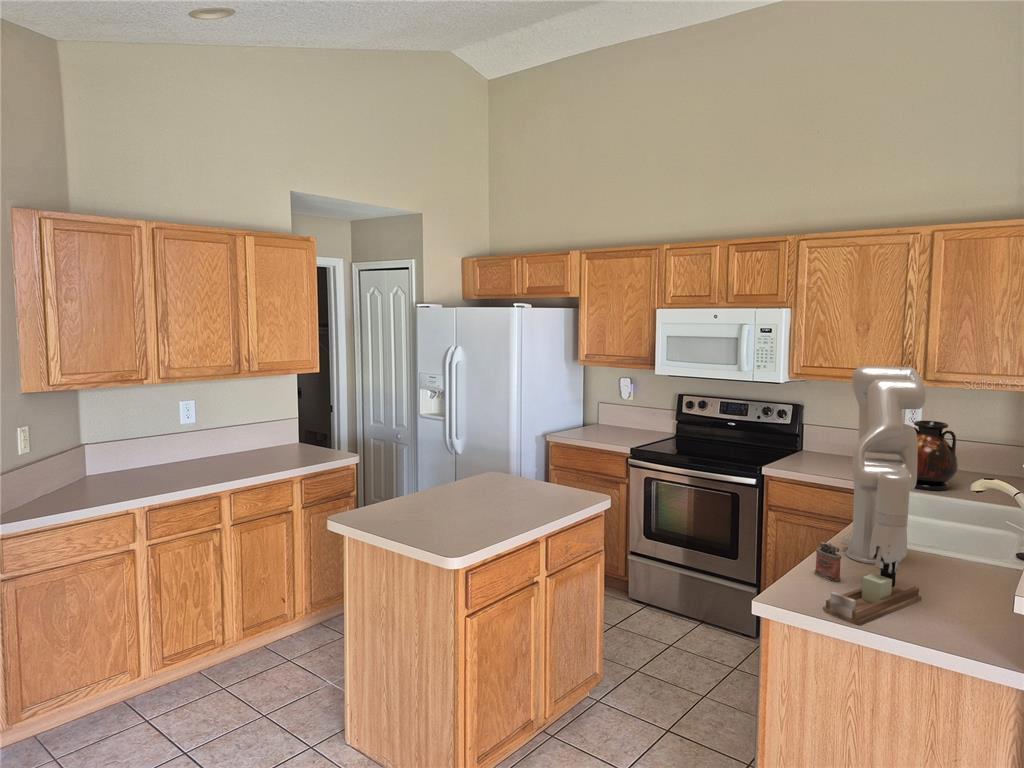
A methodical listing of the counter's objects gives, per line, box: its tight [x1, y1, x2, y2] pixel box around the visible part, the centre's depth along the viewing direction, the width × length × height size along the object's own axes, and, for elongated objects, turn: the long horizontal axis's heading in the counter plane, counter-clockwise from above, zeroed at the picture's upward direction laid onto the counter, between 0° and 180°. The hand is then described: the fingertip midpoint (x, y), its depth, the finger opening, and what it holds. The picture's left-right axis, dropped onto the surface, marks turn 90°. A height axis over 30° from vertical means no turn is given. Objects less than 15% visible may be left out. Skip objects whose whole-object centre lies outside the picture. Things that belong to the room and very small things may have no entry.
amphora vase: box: [912, 420, 959, 492], centre depth 299 cm, size 22×22×28 cm
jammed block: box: [861, 572, 892, 603], centre depth 183 cm, size 5×5×6 cm
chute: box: [822, 586, 922, 626], centre depth 183 cm, size 10×28×6 cm, turn 121°
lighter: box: [814, 541, 842, 583], centre depth 201 cm, size 8×3×10 cm, turn 23°
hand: (887, 585), depth 185 cm, fingers closed
